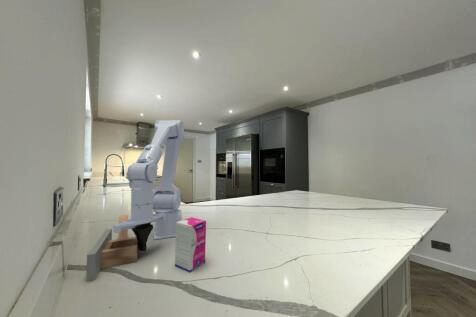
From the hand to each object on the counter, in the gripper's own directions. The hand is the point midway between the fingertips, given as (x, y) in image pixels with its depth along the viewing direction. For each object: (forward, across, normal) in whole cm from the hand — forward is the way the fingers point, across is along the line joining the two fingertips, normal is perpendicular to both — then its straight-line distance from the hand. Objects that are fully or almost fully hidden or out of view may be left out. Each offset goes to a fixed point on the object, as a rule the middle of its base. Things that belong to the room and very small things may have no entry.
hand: (142, 250), depth 55 cm
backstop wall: (+1, +8, -6) cm, 10 cm away
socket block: (+1, +4, -3) cm, 5 cm away
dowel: (+1, -3, -18) cm, 18 cm away
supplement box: (+2, -4, +16) cm, 16 cm away
